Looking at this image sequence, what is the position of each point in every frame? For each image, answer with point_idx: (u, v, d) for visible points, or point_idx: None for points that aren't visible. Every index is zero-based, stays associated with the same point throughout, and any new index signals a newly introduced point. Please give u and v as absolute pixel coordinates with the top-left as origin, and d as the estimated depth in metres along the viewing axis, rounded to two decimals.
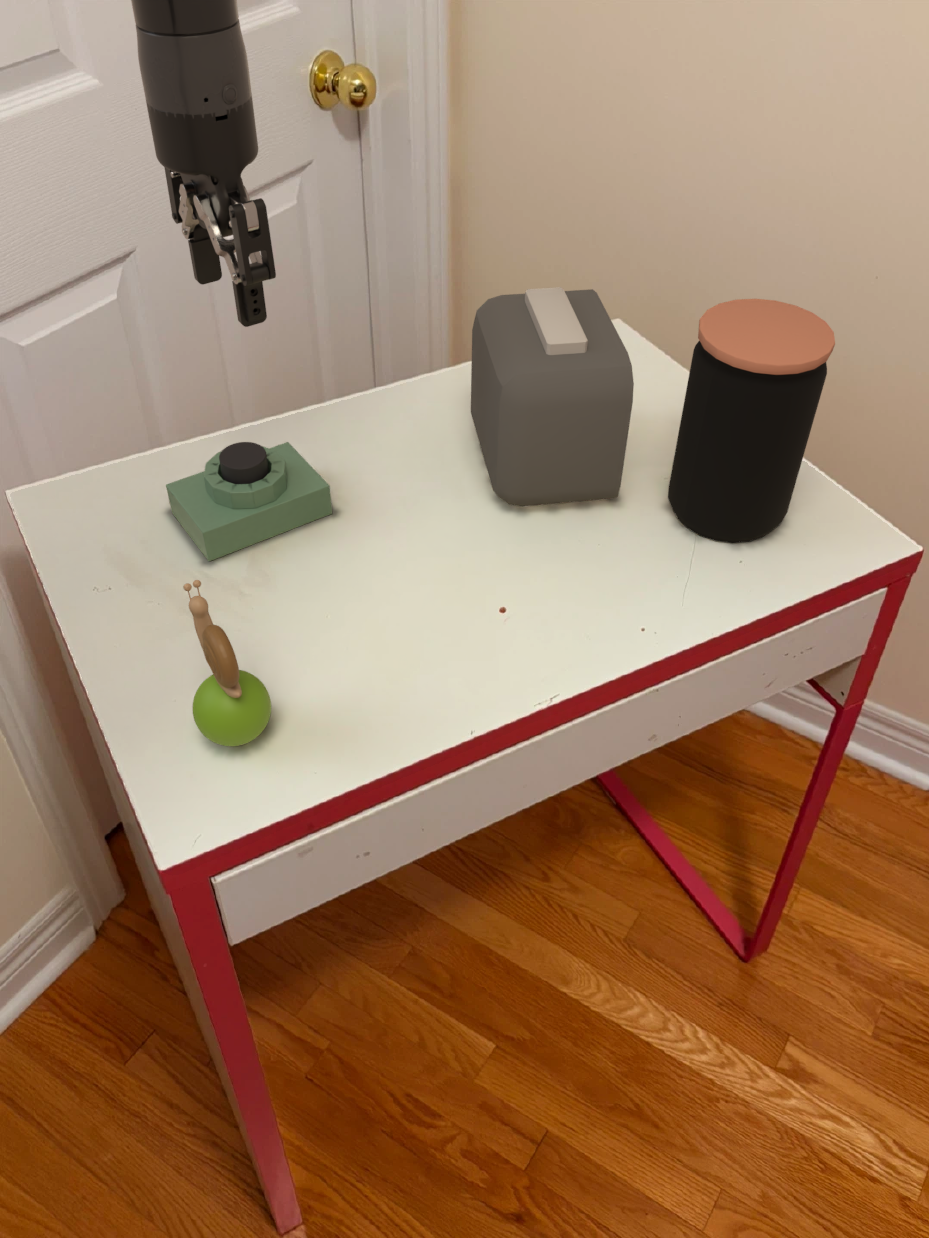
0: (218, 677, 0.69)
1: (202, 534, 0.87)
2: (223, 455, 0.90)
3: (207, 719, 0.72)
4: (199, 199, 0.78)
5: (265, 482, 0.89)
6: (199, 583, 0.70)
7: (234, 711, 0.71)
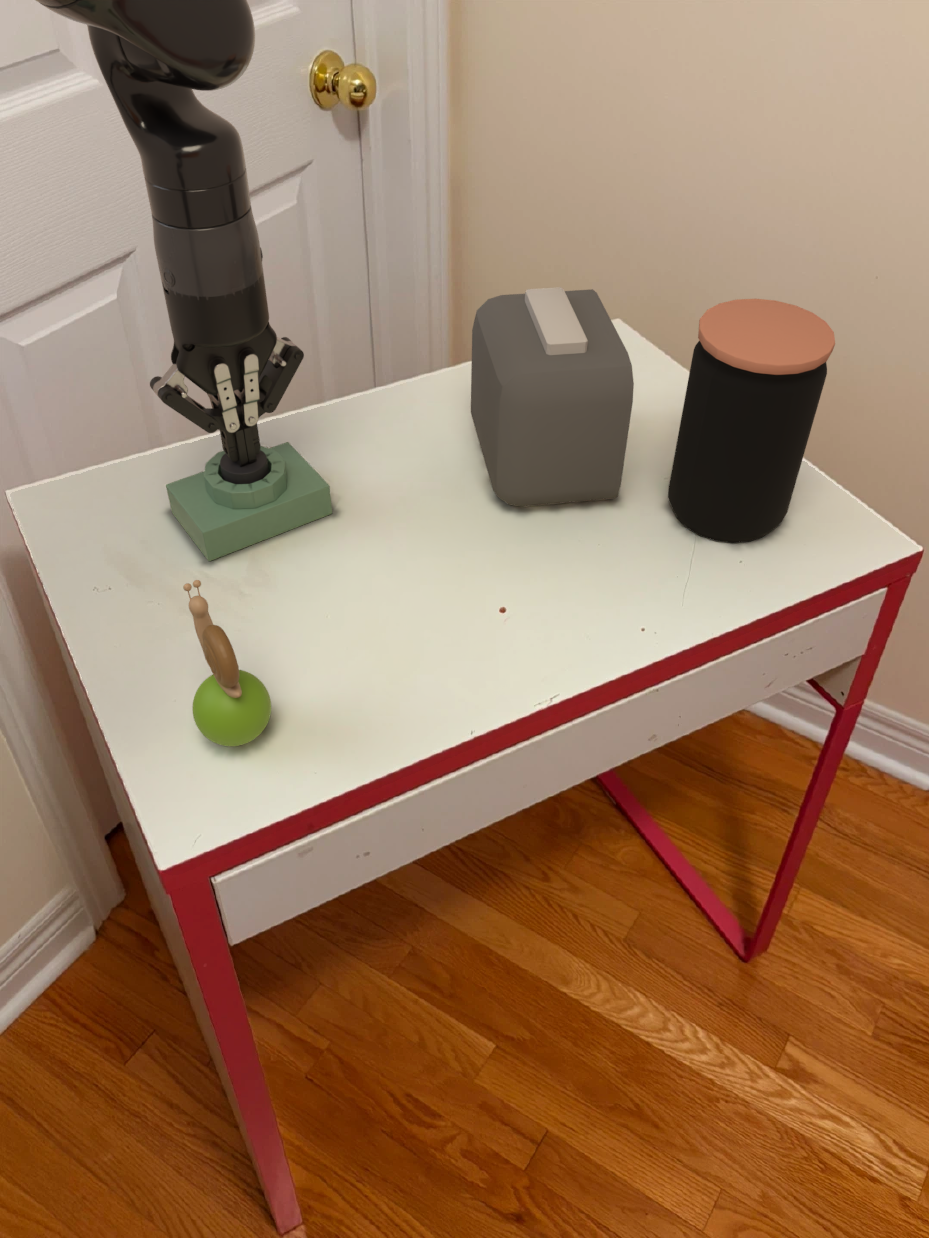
0: (218, 677, 0.69)
1: (202, 534, 0.87)
2: (224, 460, 0.90)
3: (207, 719, 0.72)
4: None
5: (265, 482, 0.89)
6: (199, 583, 0.70)
7: (234, 711, 0.71)
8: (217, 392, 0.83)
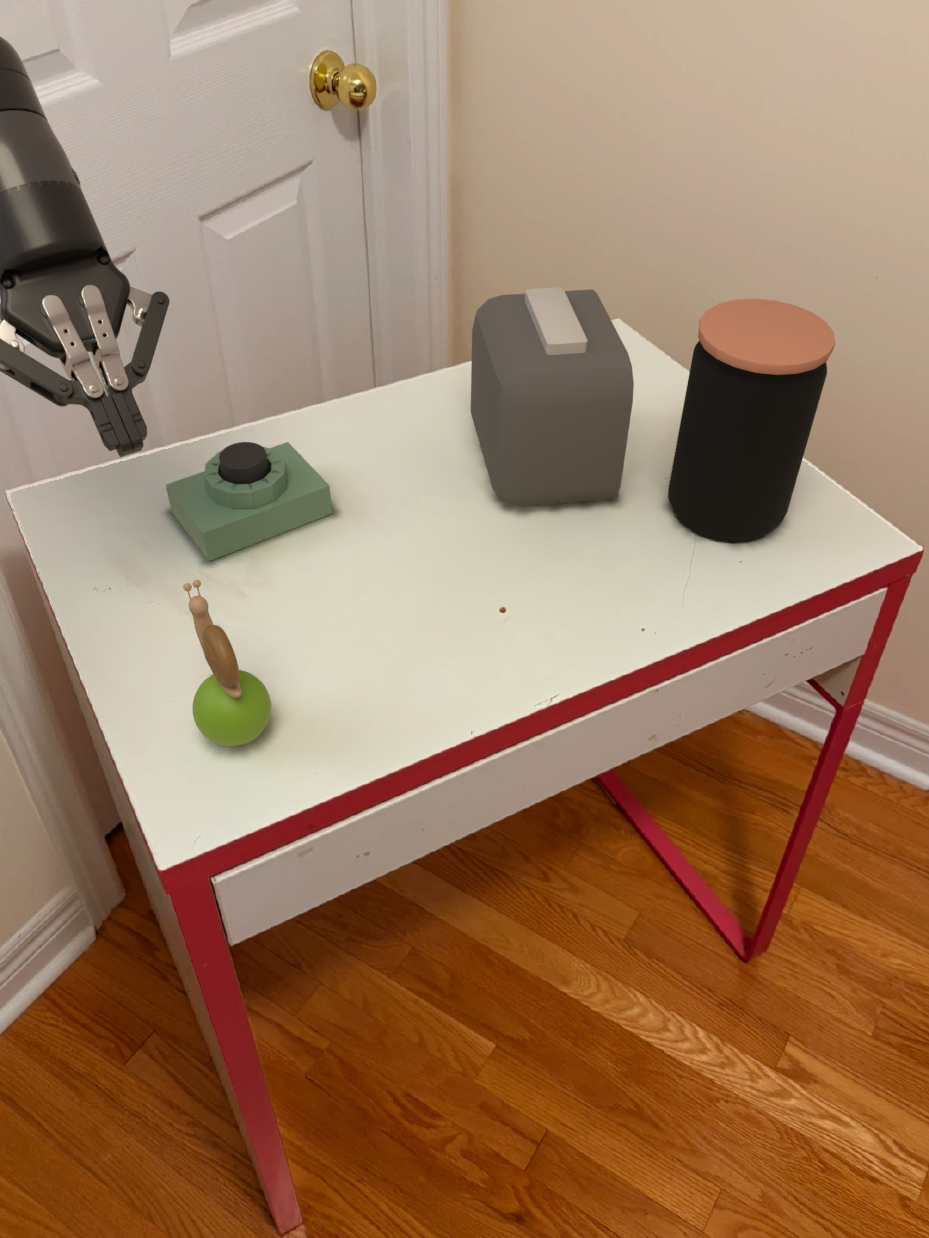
0: (218, 677, 0.69)
1: (202, 534, 0.87)
2: (223, 455, 0.90)
3: (207, 719, 0.72)
4: None
5: (265, 482, 0.89)
6: (199, 583, 0.70)
7: (234, 711, 0.71)
8: (58, 339, 0.68)
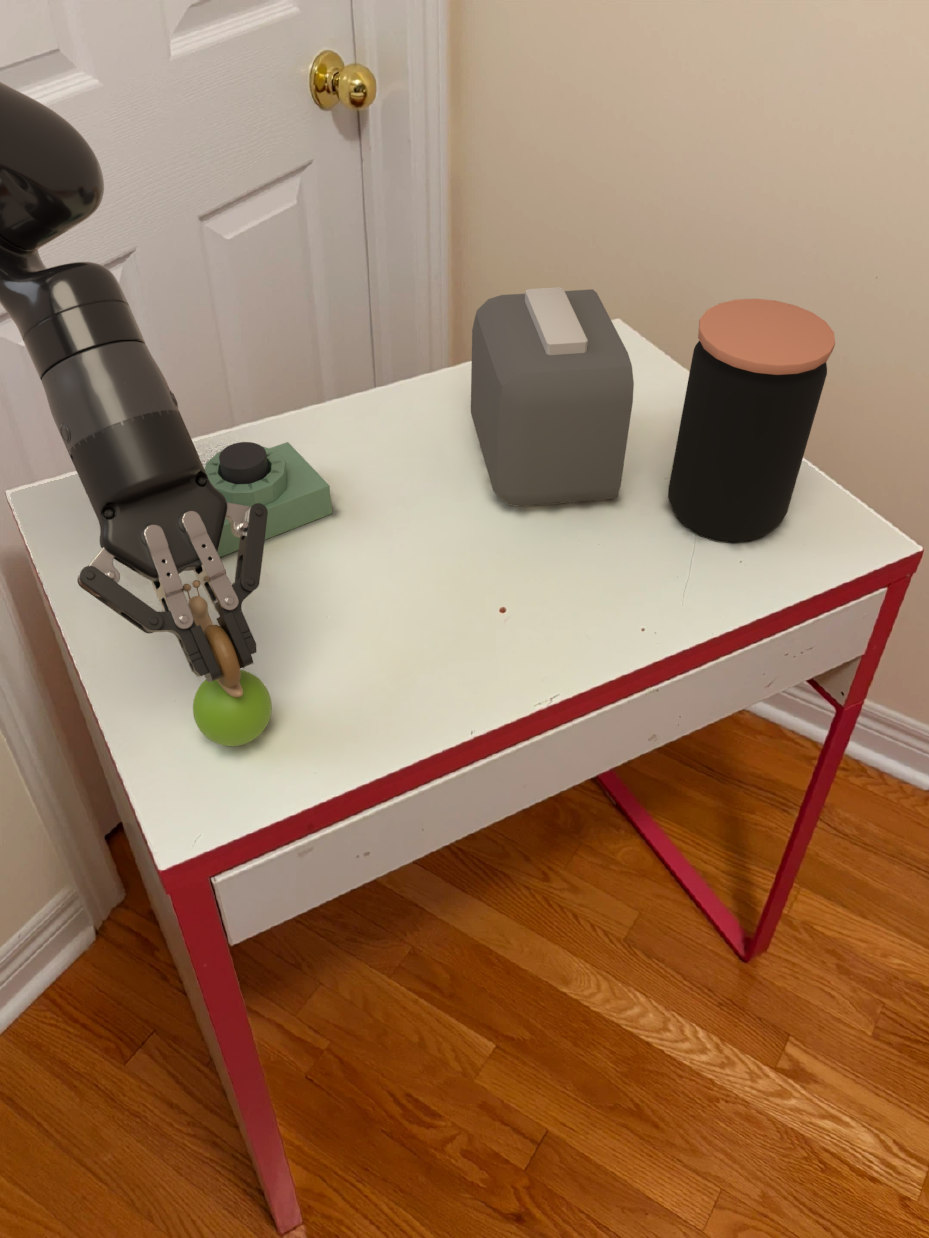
0: None
1: None
2: (223, 455, 0.90)
3: (208, 719, 0.72)
4: None
5: (265, 482, 0.89)
6: (198, 583, 0.70)
7: (235, 710, 0.71)
8: (155, 568, 0.67)
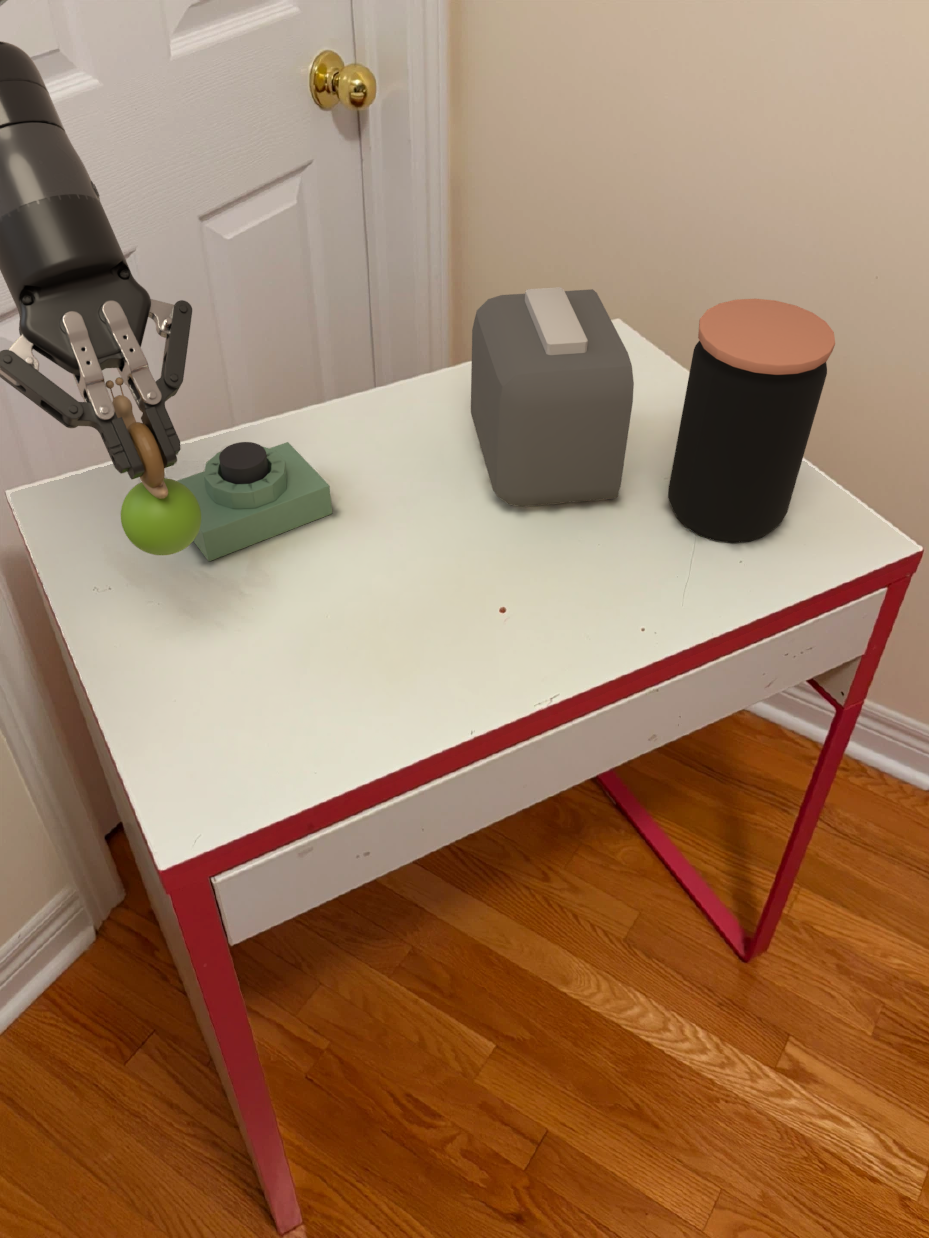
0: (143, 474, 0.69)
1: (202, 534, 0.87)
2: (223, 455, 0.90)
3: (134, 522, 0.71)
4: None
5: (265, 482, 0.89)
6: (121, 380, 0.69)
7: (161, 513, 0.71)
8: (74, 356, 0.66)
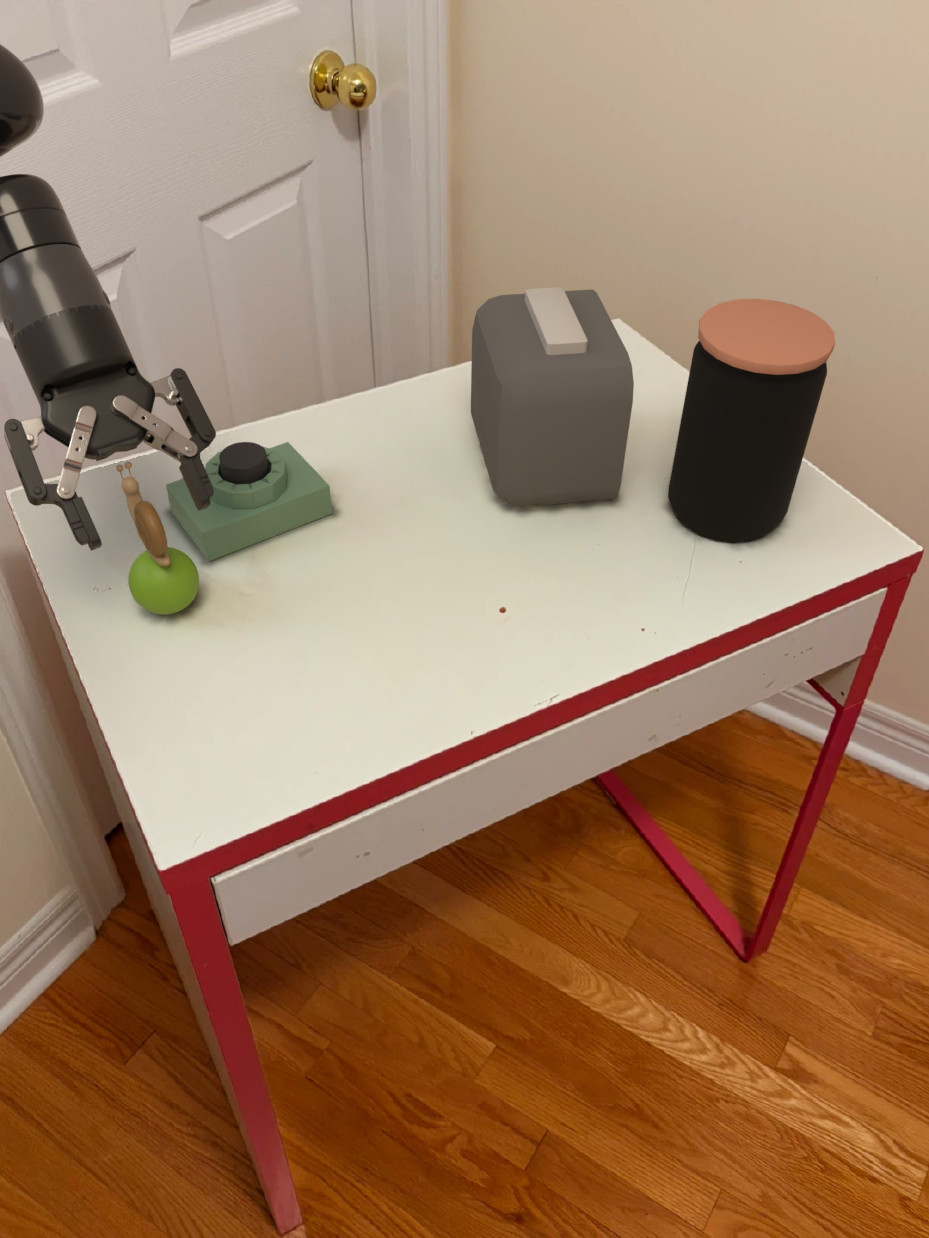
0: (148, 546, 0.79)
1: (202, 534, 0.87)
2: (223, 455, 0.90)
3: (141, 587, 0.81)
4: None
5: (265, 482, 0.89)
6: (130, 464, 0.79)
7: (164, 579, 0.81)
8: (71, 439, 0.75)
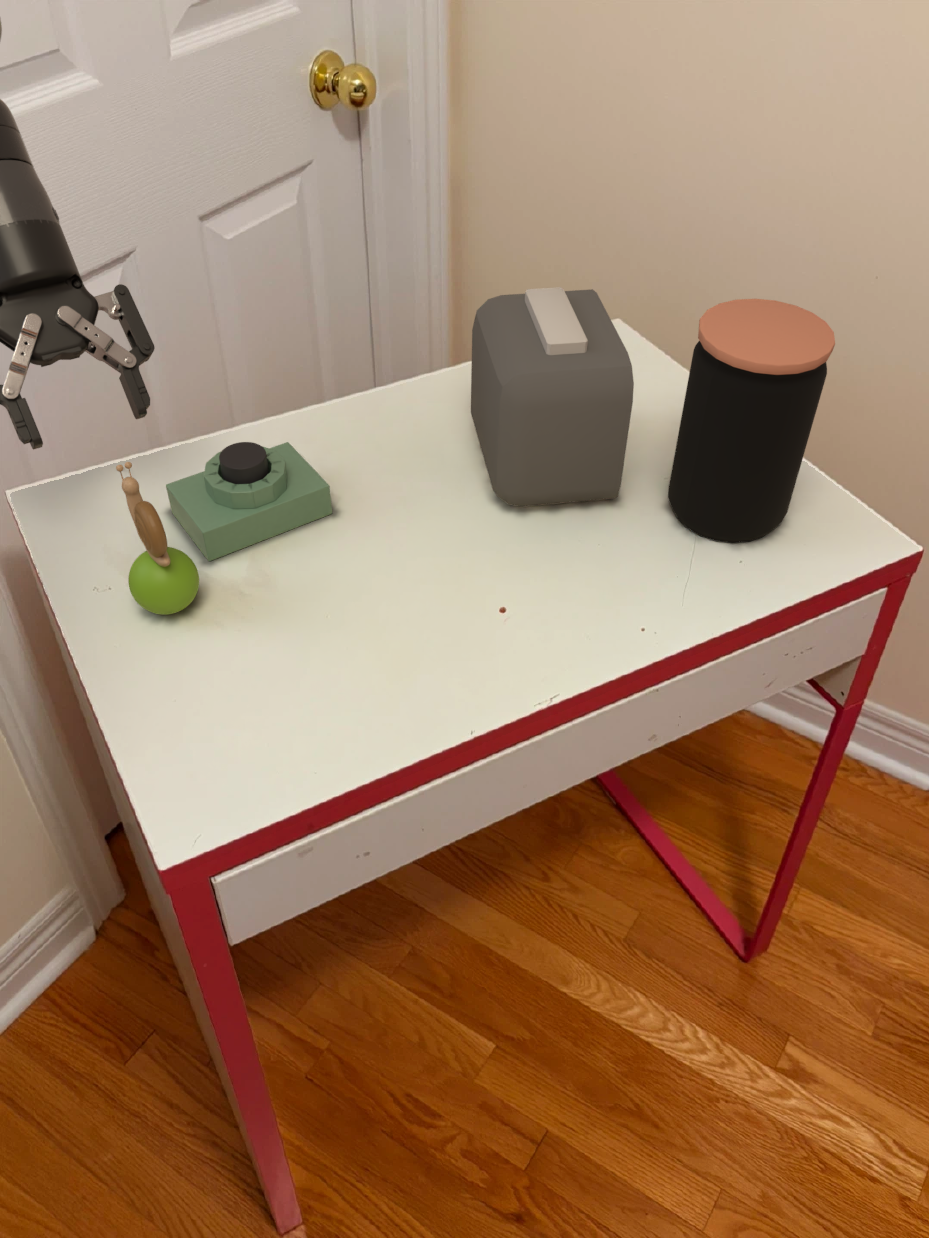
0: (148, 546, 0.79)
1: (202, 534, 0.87)
2: (223, 455, 0.90)
3: (141, 587, 0.81)
4: None
5: (265, 482, 0.89)
6: (130, 464, 0.79)
7: (164, 579, 0.81)
8: (17, 344, 0.81)
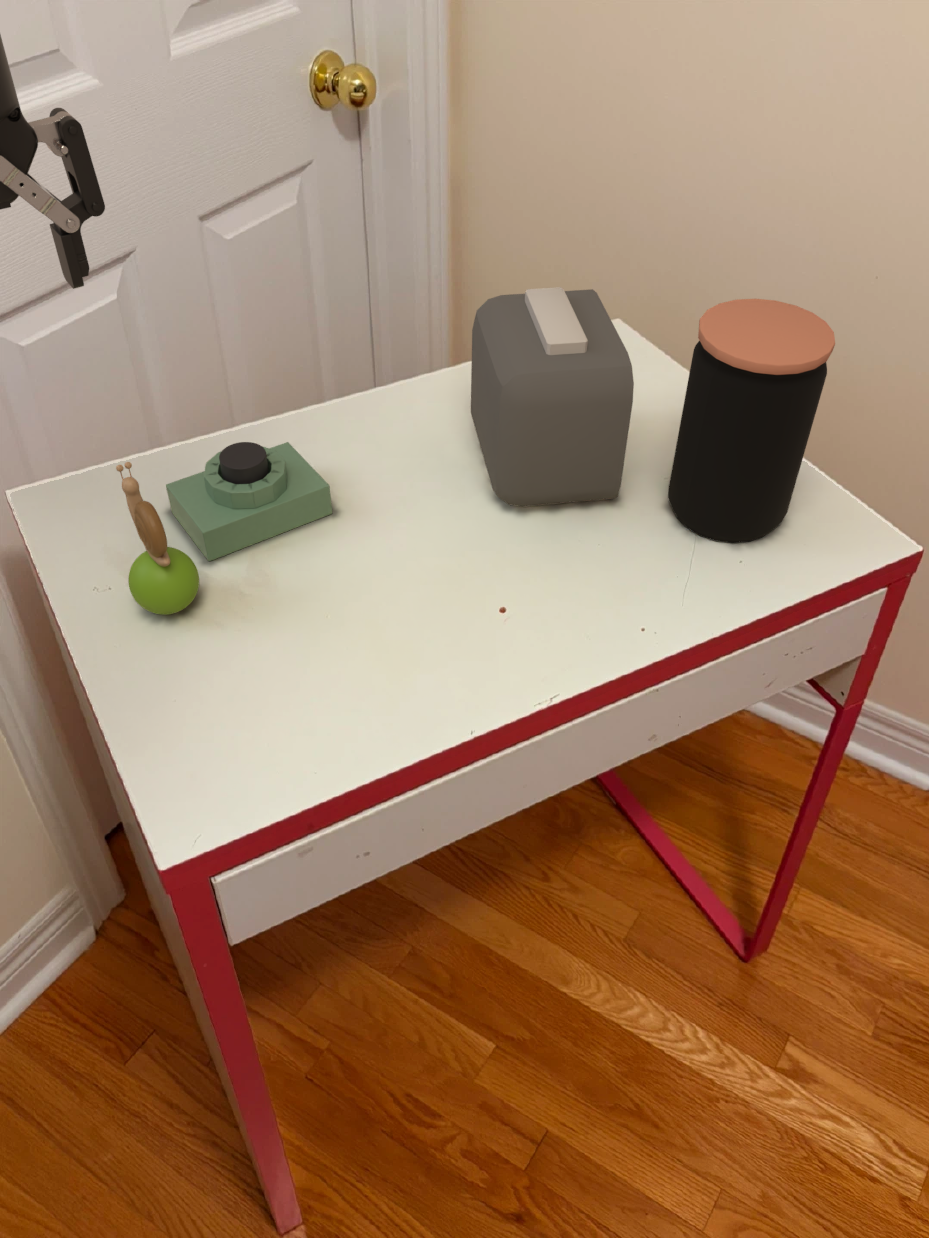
0: (148, 546, 0.79)
1: (202, 534, 0.87)
2: (223, 455, 0.90)
3: (141, 587, 0.81)
4: None
5: (265, 482, 0.89)
6: (130, 464, 0.79)
7: (164, 579, 0.81)
8: None
